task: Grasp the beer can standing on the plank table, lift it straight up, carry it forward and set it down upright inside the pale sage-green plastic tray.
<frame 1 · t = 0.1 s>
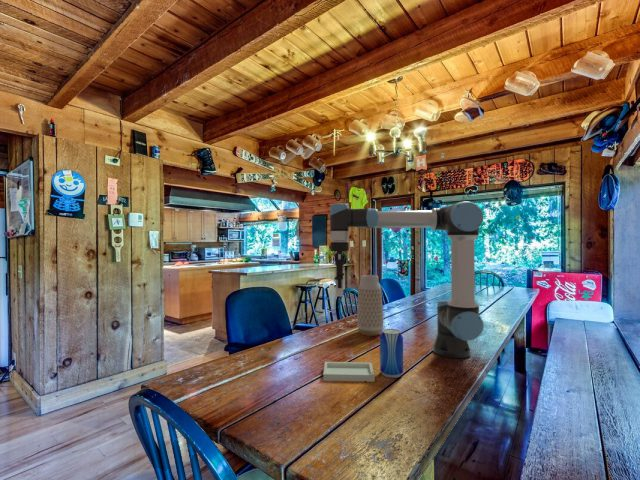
hand: (339, 293, 137), 28 cm above the table, fingers open, 13 cm apart
beer can: (391, 374, 124), on the table
tray: (348, 374, 124), on the table
vase: (370, 333, 178), on the table
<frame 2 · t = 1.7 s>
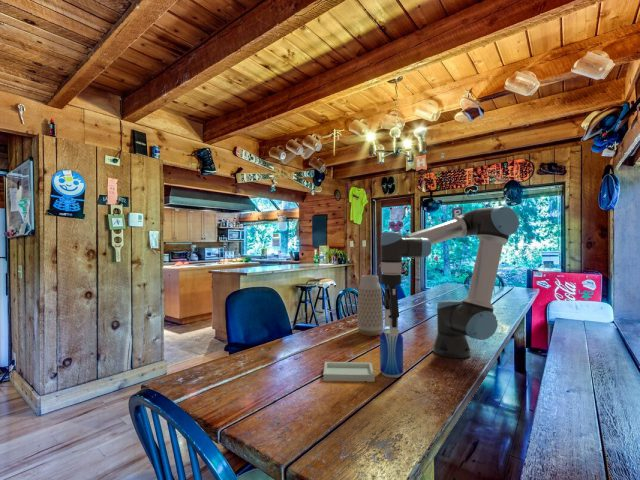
hand: (390, 331, 124), 16 cm above the table, fingers open, 13 cm apart
nothing on the table moved.
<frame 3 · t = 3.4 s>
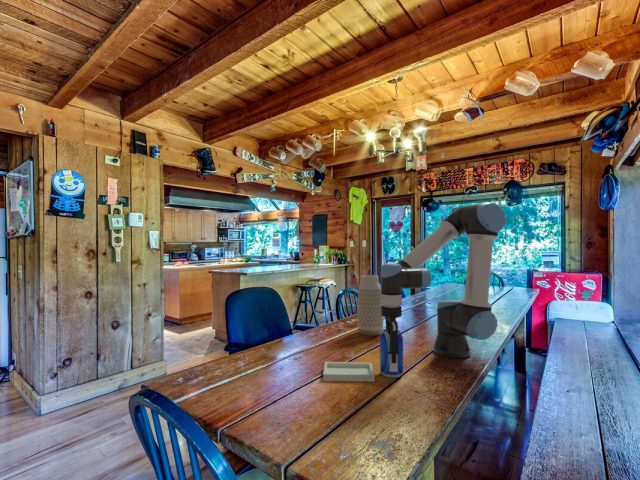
hand: (391, 366, 124), 3 cm above the table, fingers closed on beer can, 8 cm apart
beer can: (391, 374, 124), on the table, touching gripper
everything else where it was.
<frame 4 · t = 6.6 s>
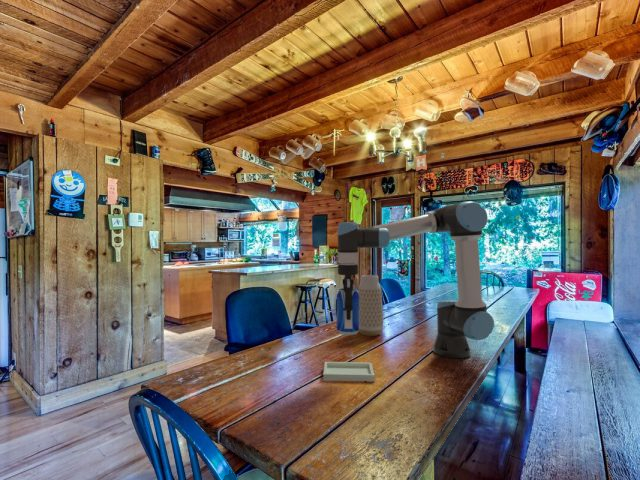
hand: (348, 325, 124), 18 cm above the table, fingers closed on beer can, 8 cm apart
beer can: (348, 333, 124), point 15 cm above the table, touching gripper
everything else where it was.
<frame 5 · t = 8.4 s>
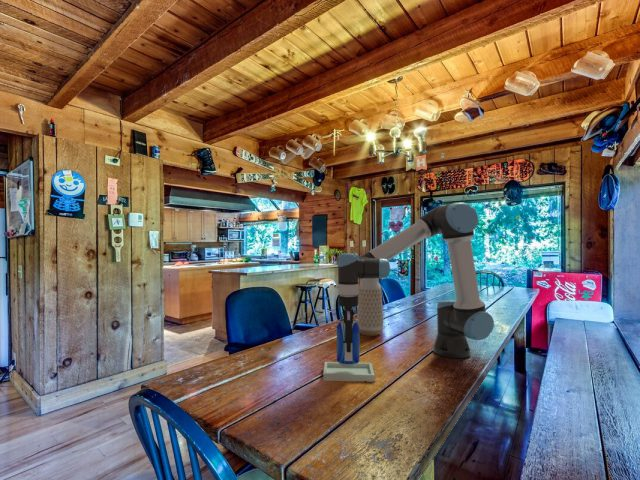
hand: (348, 356, 124), 7 cm above the table, fingers closed on beer can, 8 cm apart
beer can: (348, 364, 124), point 4 cm above the table, touching gripper
everything else where it was.
when the fingers open (5 cm above the table, at t = 9.7 s): beer can drops 1 cm, resting on tray.
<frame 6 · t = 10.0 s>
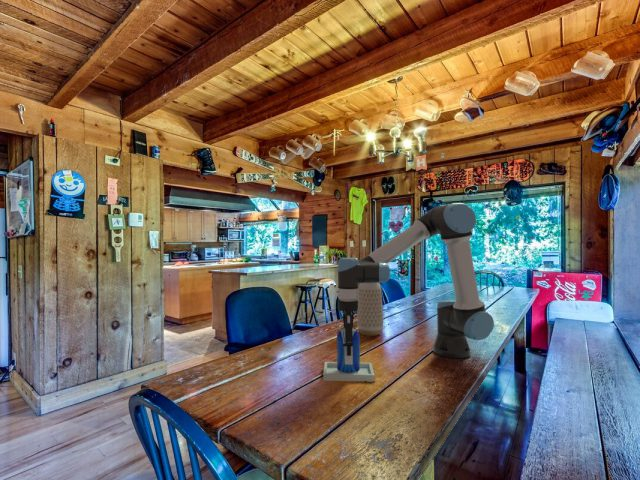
hand: (348, 357, 124), 6 cm above the table, fingers open, 12 cm apart
beer can: (348, 372, 124), point 1 cm above the table, touching tray
everything else where it was.
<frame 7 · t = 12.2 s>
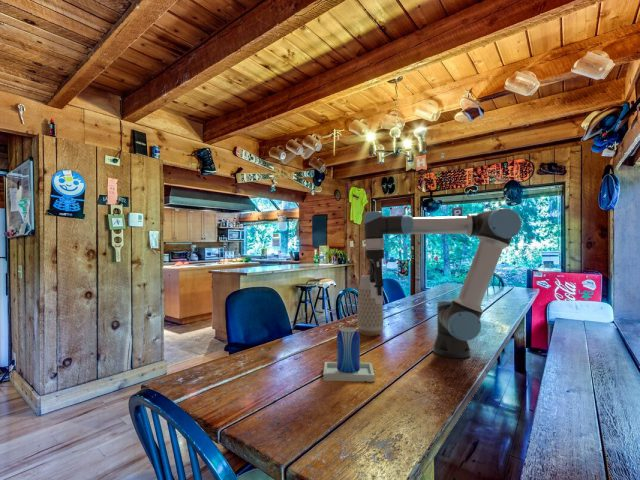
hand: (376, 300, 138), 25 cm above the table, fingers open, 13 cm apart
nothing on the table moved.
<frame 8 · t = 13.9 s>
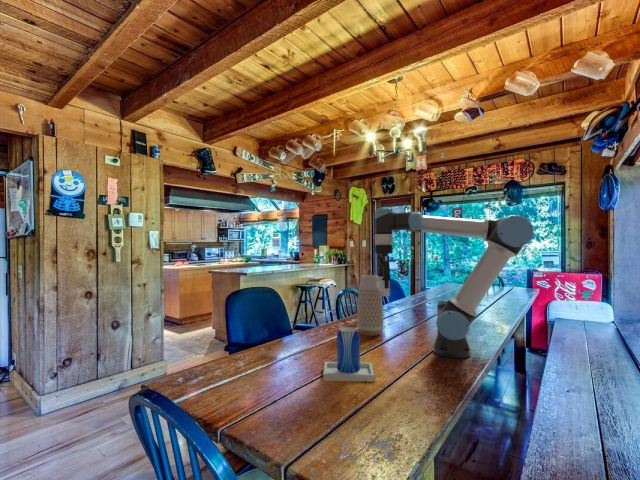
hand: (384, 293, 144), 27 cm above the table, fingers open, 13 cm apart
nothing on the table moved.
at the end: beer can inside the target area on the tray (0.0 cm from its centre), point 0.6 cm above the tray's base; beer can tilted 0°; the gripper is holding nothing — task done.
